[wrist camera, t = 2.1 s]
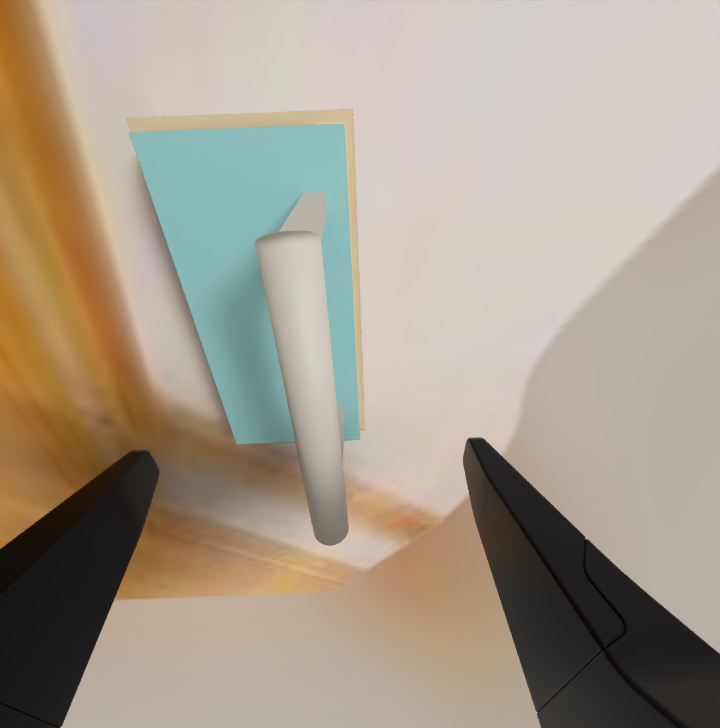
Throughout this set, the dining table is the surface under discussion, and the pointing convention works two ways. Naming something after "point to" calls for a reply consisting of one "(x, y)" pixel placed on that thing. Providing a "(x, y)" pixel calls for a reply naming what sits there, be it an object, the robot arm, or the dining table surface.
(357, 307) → the carton
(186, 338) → the dining table surface
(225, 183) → the lid flap
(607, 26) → the dining table surface
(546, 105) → the dining table surface
